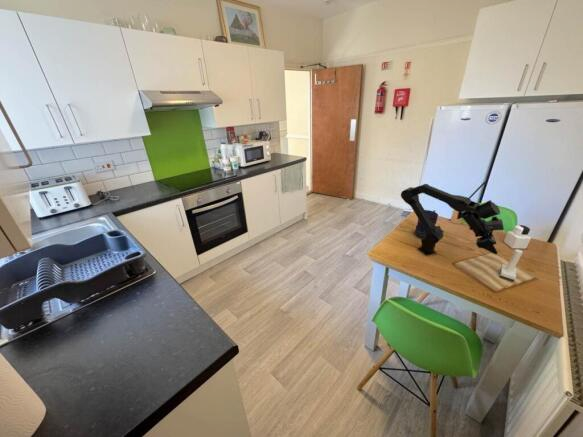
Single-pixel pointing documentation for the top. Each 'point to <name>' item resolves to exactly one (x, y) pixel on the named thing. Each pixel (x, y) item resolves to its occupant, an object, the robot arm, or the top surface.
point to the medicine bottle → (518, 237)
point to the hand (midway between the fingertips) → (495, 248)
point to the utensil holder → (455, 213)
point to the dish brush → (510, 267)
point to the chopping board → (492, 271)
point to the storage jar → (419, 228)
